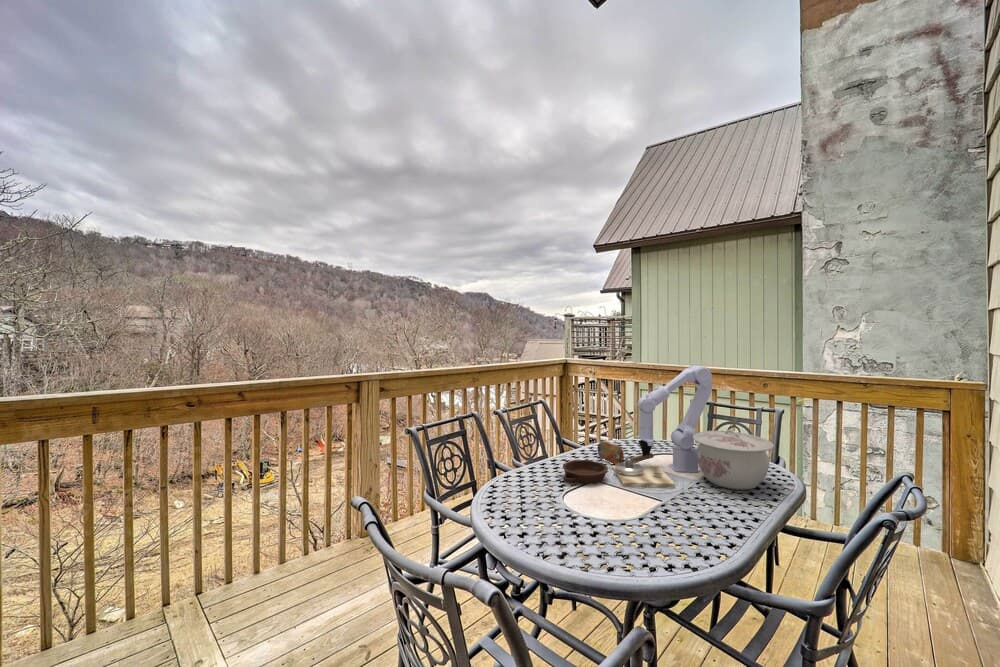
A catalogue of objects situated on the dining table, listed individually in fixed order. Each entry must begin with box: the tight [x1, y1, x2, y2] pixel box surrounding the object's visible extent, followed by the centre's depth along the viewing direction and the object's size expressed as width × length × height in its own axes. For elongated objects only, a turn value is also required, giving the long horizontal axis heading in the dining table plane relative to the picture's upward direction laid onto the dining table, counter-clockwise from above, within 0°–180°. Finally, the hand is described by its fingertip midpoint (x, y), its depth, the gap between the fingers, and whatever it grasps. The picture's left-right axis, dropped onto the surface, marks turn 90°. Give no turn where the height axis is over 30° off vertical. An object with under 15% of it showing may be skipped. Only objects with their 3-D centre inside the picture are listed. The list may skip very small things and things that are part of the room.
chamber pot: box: [693, 429, 775, 491], centre depth 165 cm, size 28×28×21 cm
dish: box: [562, 459, 609, 485], centre depth 171 cm, size 18×22×5 cm
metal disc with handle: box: [614, 452, 655, 476], centre depth 176 cm, size 20×11×5 cm, turn 120°
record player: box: [612, 464, 676, 488], centre depth 171 cm, size 19×20×2 cm
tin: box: [597, 440, 625, 465], centre depth 191 cm, size 15×3×8 cm, turn 25°
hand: (645, 458), depth 182 cm, fingers closed
